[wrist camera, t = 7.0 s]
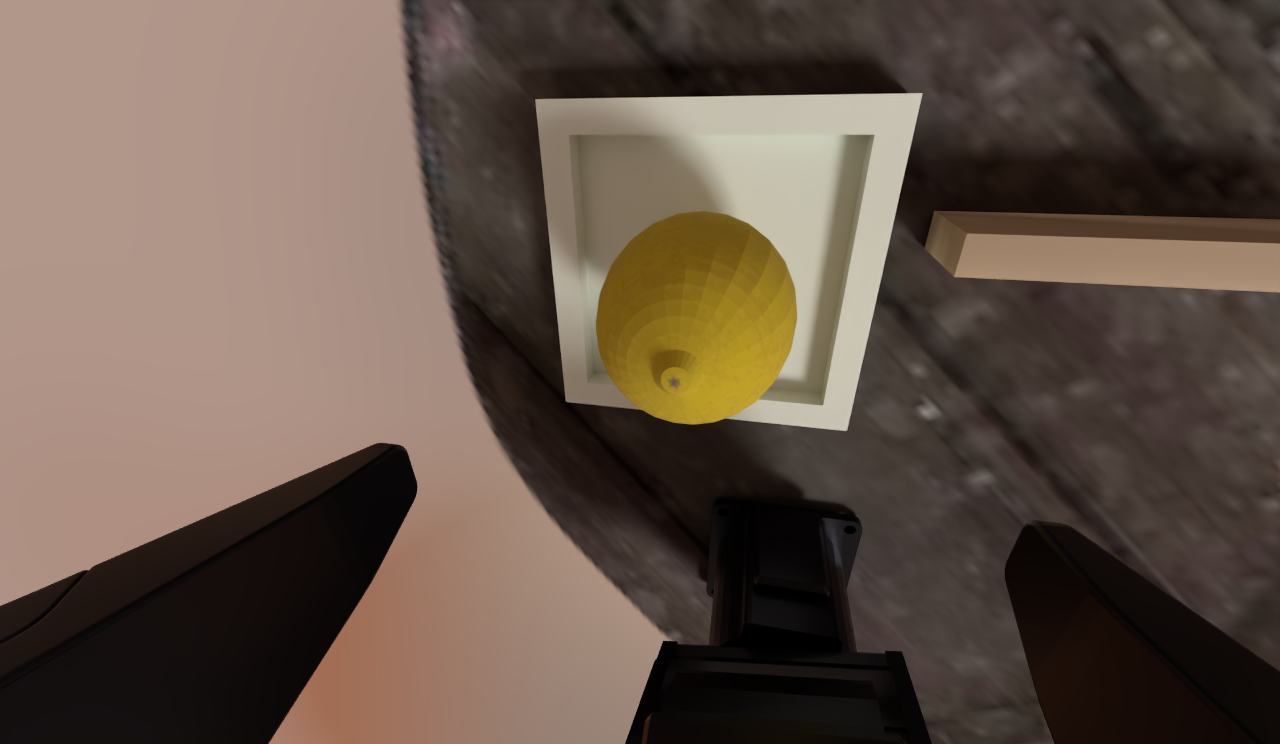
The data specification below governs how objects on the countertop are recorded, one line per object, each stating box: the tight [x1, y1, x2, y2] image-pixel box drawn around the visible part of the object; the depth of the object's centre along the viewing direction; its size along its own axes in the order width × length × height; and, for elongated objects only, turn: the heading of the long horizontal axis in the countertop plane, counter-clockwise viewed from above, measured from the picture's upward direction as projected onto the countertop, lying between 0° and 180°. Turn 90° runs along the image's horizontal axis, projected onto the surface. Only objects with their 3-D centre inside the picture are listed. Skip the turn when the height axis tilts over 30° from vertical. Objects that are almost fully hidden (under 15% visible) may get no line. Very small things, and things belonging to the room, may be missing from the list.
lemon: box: [596, 211, 797, 424], centre depth 14 cm, size 6×6×8 cm
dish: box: [535, 93, 922, 431], centre depth 18 cm, size 11×11×2 cm
